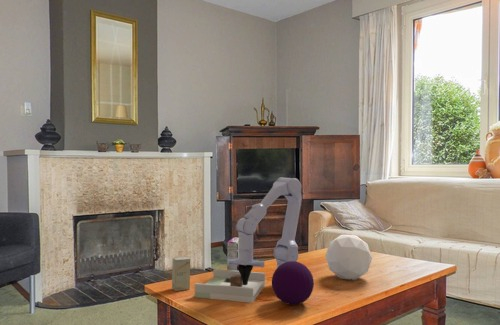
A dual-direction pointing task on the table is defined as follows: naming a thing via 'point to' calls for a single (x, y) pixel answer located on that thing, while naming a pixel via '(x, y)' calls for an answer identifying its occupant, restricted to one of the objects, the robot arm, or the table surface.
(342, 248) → the geometric orb
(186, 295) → the table surface
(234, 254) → the candy bar box
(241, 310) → the table surface
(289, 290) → the toy ball
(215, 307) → the table surface
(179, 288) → the skincare box
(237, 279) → the walnut block
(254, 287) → the board
